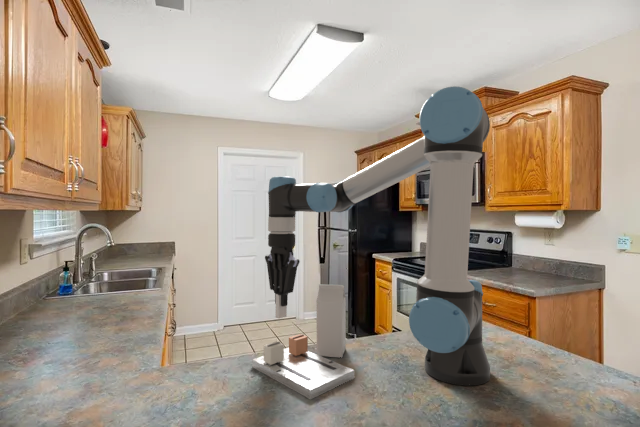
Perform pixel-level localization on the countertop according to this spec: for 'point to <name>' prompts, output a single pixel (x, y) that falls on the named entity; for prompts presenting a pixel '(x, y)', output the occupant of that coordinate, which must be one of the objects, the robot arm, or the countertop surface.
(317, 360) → the console
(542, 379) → the countertop surface
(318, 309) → the milk carton
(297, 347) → the fader
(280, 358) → the block
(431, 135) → the robot arm
